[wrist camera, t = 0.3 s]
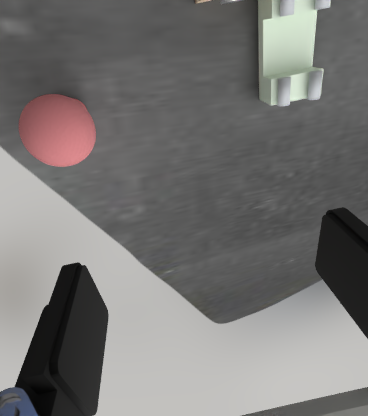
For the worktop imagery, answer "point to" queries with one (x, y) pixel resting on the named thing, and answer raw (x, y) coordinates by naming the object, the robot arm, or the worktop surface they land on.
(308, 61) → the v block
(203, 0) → the wooden cradle stand
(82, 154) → the light bulb
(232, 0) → the axle
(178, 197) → the worktop surface
